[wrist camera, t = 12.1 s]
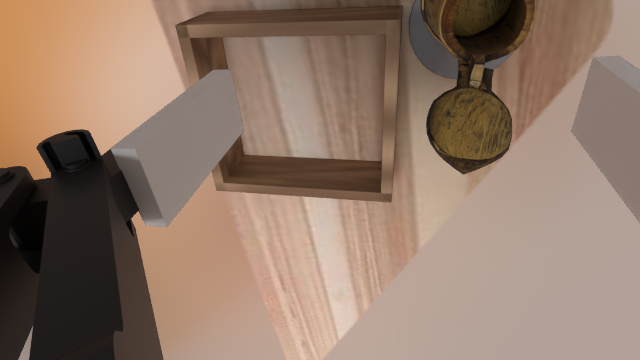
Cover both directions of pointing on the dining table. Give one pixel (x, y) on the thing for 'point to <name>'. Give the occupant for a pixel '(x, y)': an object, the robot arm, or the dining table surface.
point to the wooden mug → (474, 77)
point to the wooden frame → (288, 172)
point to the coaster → (436, 48)
